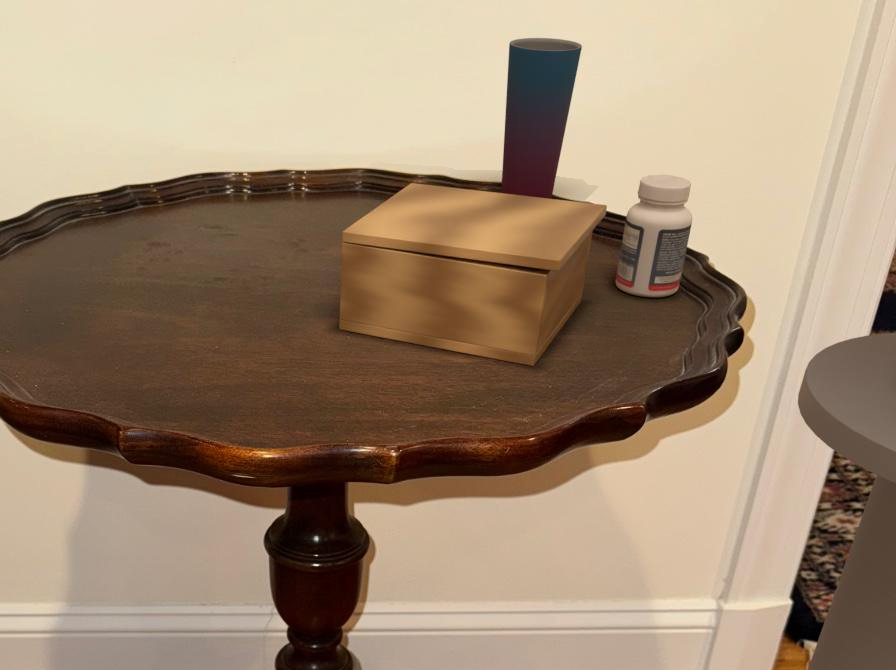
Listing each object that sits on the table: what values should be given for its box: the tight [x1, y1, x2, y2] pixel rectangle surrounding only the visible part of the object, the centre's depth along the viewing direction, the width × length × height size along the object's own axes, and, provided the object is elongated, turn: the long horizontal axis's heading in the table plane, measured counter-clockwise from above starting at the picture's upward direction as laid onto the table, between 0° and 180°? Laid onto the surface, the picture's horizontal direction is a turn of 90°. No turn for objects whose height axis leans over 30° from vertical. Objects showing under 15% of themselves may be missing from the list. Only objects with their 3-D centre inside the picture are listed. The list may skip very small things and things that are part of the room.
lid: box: [341, 182, 608, 271], centre depth 86 cm, size 16×15×1 cm
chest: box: [338, 229, 594, 367], centre depth 89 cm, size 16×15×7 cm
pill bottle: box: [615, 174, 693, 298], centre depth 94 cm, size 5×5×9 cm
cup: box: [500, 37, 583, 199], centre depth 111 cm, size 7×7×15 cm
